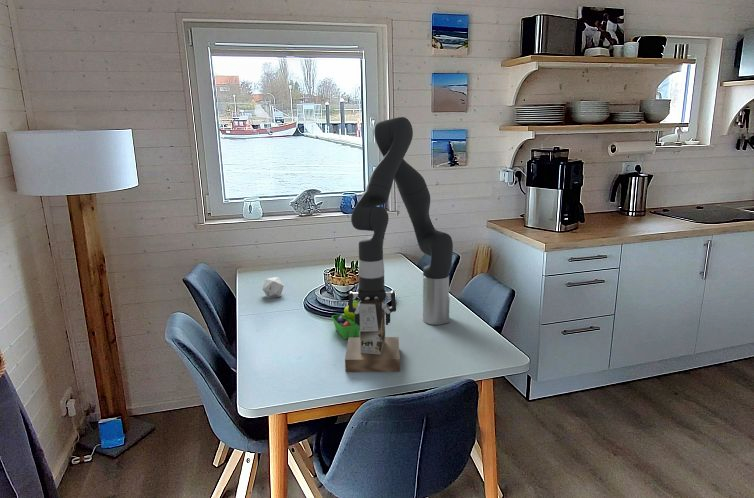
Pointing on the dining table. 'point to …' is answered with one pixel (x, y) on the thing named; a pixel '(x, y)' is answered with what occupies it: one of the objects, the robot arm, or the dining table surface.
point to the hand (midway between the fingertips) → (372, 324)
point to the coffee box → (372, 327)
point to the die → (273, 287)
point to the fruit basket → (347, 323)
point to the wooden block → (373, 357)
